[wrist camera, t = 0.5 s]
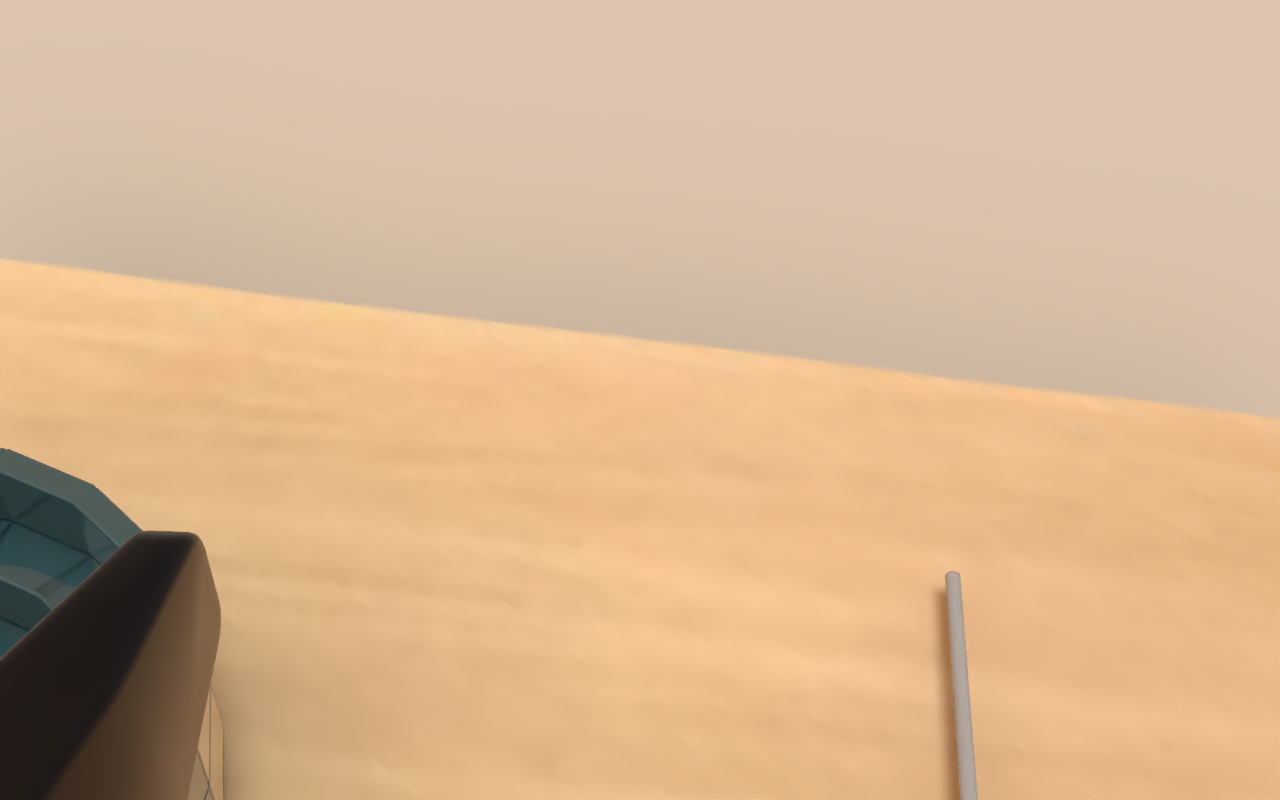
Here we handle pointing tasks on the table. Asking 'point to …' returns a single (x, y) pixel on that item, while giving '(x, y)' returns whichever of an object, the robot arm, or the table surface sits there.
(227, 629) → the table surface
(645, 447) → the table surface
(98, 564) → the bowl
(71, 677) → the robot arm
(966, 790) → the lollipop
